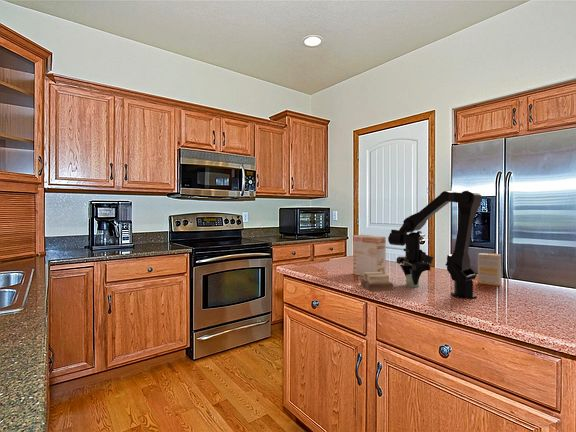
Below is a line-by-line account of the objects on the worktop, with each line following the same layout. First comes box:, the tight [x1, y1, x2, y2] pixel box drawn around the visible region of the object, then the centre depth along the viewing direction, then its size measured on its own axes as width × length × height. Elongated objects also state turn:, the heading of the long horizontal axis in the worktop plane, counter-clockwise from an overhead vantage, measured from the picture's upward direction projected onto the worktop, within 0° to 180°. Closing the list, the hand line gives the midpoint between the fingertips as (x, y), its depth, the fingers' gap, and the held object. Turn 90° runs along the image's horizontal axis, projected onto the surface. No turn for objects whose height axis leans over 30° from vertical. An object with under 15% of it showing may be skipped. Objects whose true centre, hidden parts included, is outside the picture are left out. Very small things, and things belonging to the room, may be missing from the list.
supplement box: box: [477, 252, 502, 287], centre depth 144 cm, size 8×5×13 cm, turn 47°
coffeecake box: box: [352, 234, 387, 277], centre depth 163 cm, size 15×7×20 cm, turn 35°
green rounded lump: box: [405, 274, 420, 288], centre depth 143 cm, size 5×5×4 cm
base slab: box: [360, 278, 394, 292], centre depth 141 cm, size 10×10×3 cm
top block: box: [363, 272, 390, 284], centre depth 141 cm, size 8×8×3 cm
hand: (412, 283), depth 143 cm, fingers closed on green rounded lump, 5 cm apart
